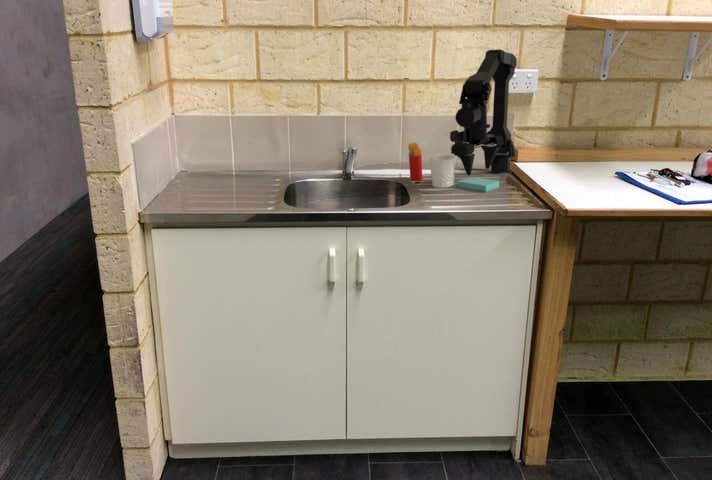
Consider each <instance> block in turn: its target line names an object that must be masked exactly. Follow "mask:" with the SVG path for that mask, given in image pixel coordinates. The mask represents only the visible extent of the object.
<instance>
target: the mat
mask: <svg viewBox="0 0 712 480" xmlns="http://www.w3.org/2000/svg"><path fill="white" fill-rule="evenodd" d="M503 187H505V186H503V185H499V188H496V189H493V190H490V191H488V192H483V191H477V190H471V189H465V188H459V187H458V186H456V187H453V189H454V190H460V191H466V192H471V193H477V194H482V195H483V194H484V195H485V194H487V193H490V192H493V191H496V190H498V189H501V188H503Z"/></svg>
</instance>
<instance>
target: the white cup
mask: <svg viewBox="0 0 712 480" xmlns="http://www.w3.org/2000/svg"><path fill="white" fill-rule="evenodd" d="M455 157H456V156H455V155H453V154H452V155H451V154H439V155H438V154H437V155H432V156H430V157H429V165H430V175H431V180H432V181H431V182H432V187H436V188H447V187H452V186H454V183H455V182H454V181H455Z"/></svg>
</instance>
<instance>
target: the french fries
mask: <svg viewBox="0 0 712 480" xmlns="http://www.w3.org/2000/svg"><path fill="white" fill-rule="evenodd" d="M407 144H408V145H407V146H408V161H409V162H408V164H409V176H410V177H409V178H410V180H411V181H419V182H420V181H422V182H423V165H422V164H423V163H422V162H423V161H422V160H423V159H422V148H420V147H419V145H420V144H419V143H417V142H410V143H407ZM411 181H410V182H411ZM420 183H421V182H420Z"/></svg>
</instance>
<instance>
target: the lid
mask: <svg viewBox="0 0 712 480" xmlns="http://www.w3.org/2000/svg"><path fill="white" fill-rule="evenodd" d="M499 186H500V181H499V180H494V179H488V178H487V179H486V178H481V177H475V176H470V177H467V178H463V179H460V180H458V181H457V187H459V188H465V189H471V190H477V191H483V192H487V193H489V192H488V191H490V190H493V189H496V188H498V189H500V188H499ZM496 190H497V189H496ZM493 191H494V190H493ZM490 192H491V191H490Z"/></svg>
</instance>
